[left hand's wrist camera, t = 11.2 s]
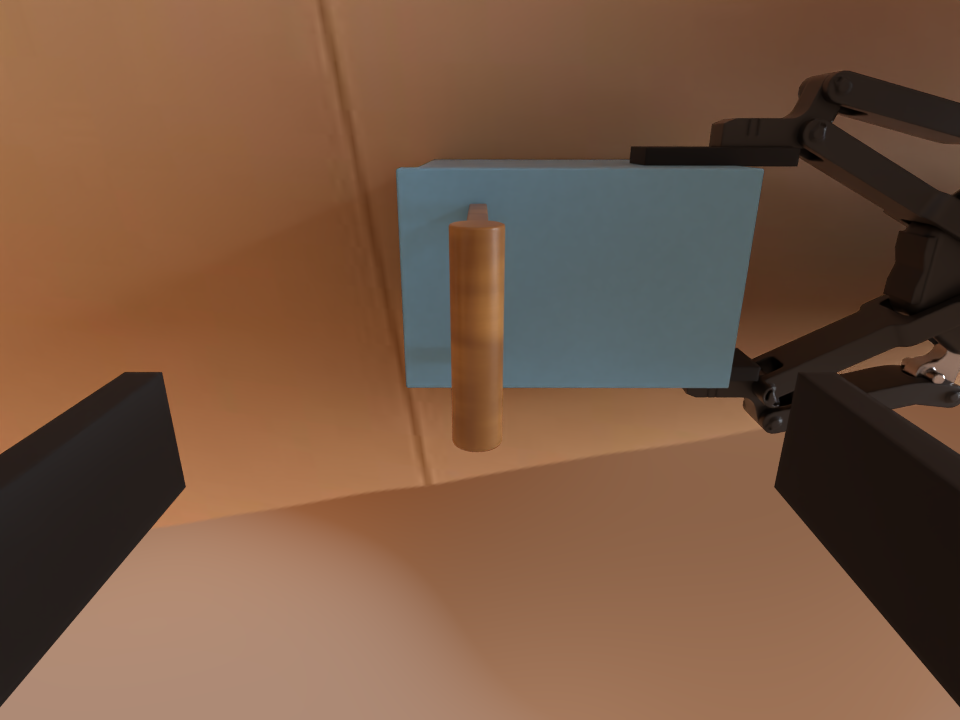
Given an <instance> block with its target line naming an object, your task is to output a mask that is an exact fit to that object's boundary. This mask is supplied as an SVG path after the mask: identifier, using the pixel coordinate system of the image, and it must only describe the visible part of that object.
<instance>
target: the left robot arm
mask: <svg viewBox="0 0 960 720" xmlns="http://www.w3.org/2000/svg"><path fill="white" fill-rule="evenodd" d="M185 487H186V486H185V481H184V476H183V471H182V467H181V462H180V457H179V452H178V447H177V443H176V438H175V433H174V428H173V423H172V418H171V414H170V409H169V404H168V399H167V394H166V389H165V385H164V380H163V375H162V372H124V373H123V374H121V375H120V376H118V377H117V378H115V379H114V380H112V381H111V382H109V383H108V384H106V385H105V386H103V387H102V388H100V389H99V390H97V391H96V392H94V393H93V394H91V395H90V396H88V397H87V398H85V399H84V400H82V401H81V402H79V403H78V404H76V405H74V406H73V407H71V408H70V409H68V410H67V411H65V412H64V413H62V414H61V415H59V416H58V417H56V418H55V419H53V420H52V421H50V422H49V423H47V424H46V425H44V426H43V427H41V428H40V429H38V430H37V431H35V432H34V433H32V434H31V435H29V436H28V437H26V438H24V439H23V440H21V441H20V442H18V443H17V444H15V445H14V446H12V447H11V448H9V449H8V450H6V451H5V452H3V453H2V454H0V707H1V705H2V704H3V703H4V702H5V701H6V700H7V698H8V697H9V696H10V695H11V694H12V692H13V691H14V690H15V689H16V688H17V687H18V685H19V684H20V683H21V682H22V681H23V679H24V678H25V677H26V676H27V675H28V673H29V672H30V671H31V670H32V669H33V668H34V666H35V665H36V664H37V663H38V662H39V660H40V659H41V658H42V657H43V656H44V654H45V653H46V652H47V651H48V650H49V649H50V647H51V646H52V645H53V644H54V643H55V641H56V640H57V639H58V638H59V637H60V635H61V634H62V633H63V632H64V631H65V630H66V628H67V627H68V626H69V625H70V624H71V622H72V621H73V620H74V619H75V618H76V616H77V615H78V614H79V613H80V612H81V611H82V609H83V608H84V607H85V606H86V605H87V603H88V602H89V601H90V600H91V599H92V597H93V596H94V595H95V594H96V593H97V592H98V590H99V589H100V588H101V587H102V586H103V584H104V583H105V582H106V581H107V580H108V579H109V577H110V576H111V575H112V574H113V573H114V571H115V570H116V569H117V568H118V567H119V566H120V564H121V563H122V562H123V561H124V560H125V558H126V557H127V556H128V555H129V554H130V552H131V551H132V550H133V549H134V548H135V547H136V545H137V544H138V543H139V542H140V541H141V539H142V538H143V537H144V536H145V535H146V533H147V532H148V531H149V530H150V529H151V528H152V526H153V525H154V524H155V523H156V522H157V520H158V519H159V518H160V517H161V516H162V514H163V513H164V512H165V511H166V510H167V509H168V507H169V506H170V505H171V504H172V503H173V501H174V500H175V499H176V498H177V497H178V496H179V494H180V493H181V492H182V491H183V490H184V488H185ZM774 487H775V488H776V490H777V491H778V492H779V493H780V494H781V496H782V497H783V498H784V499H785V500H786V501H787V503H788V504H789V505H790V506H791V507H792V509H793V510H794V511H795V512H796V513H797V514H798V516H799V517H800V518H801V519H802V520H803V522H804V523H805V524H806V525H807V526H808V528H809V529H810V530H811V531H812V532H813V533H814V535H815V536H816V537H817V538H818V539H819V541H820V542H821V543H822V544H823V545H824V547H825V548H826V549H827V550H828V551H829V552H830V554H831V555H832V556H833V557H834V558H835V560H836V561H837V562H838V563H839V564H840V566H841V567H842V568H843V569H844V570H845V571H846V573H847V574H848V575H849V576H850V577H851V579H852V580H853V581H854V582H855V583H856V584H857V586H858V587H859V588H860V589H861V590H862V592H863V593H864V594H865V595H866V596H867V598H868V599H869V600H870V601H871V602H872V603H873V605H874V606H875V607H876V608H877V609H878V611H879V612H880V613H881V614H882V615H883V617H884V618H885V619H886V620H887V621H888V622H889V624H890V625H891V626H892V627H893V628H894V630H895V631H896V632H897V633H898V634H899V635H900V637H901V638H902V639H903V640H904V641H905V643H906V644H907V645H908V646H909V647H910V649H911V650H912V651H913V652H914V653H915V654H916V656H917V657H918V658H919V659H920V660H921V662H922V663H923V664H924V665H925V666H926V667H927V669H928V670H929V671H930V672H931V673H932V675H933V676H934V677H935V678H936V679H937V681H938V682H939V683H940V684H941V685H942V686H943V688H944V689H945V690H946V691H947V692H948V694H949V695H950V696H951V697H952V698H953V700H954V701H955V702H956V703H957V704H958V705H959V707H960V454H958V453H957V452H955V451H954V450H952V449H951V448H949V447H948V446H946V445H945V444H943V443H942V442H940V441H939V440H937V439H936V438H934V437H932V436H931V435H929V434H928V433H926V432H925V431H923V430H922V429H920V428H919V427H917V426H916V425H914V424H913V423H911V422H910V421H908V420H907V419H905V418H904V417H902V416H901V415H899V414H898V413H896V412H895V411H893V410H892V409H890V408H889V407H887V406H886V405H884V404H882V403H881V402H879V401H878V400H876V399H875V398H873V397H872V396H870V395H869V394H867V393H866V392H864V391H863V390H861V389H860V388H858V387H857V386H855V385H854V384H852V383H851V382H849V381H848V380H846V379H845V378H843V377H842V376H840V375H839V374H837V373H836V372H798V375H797V380H796V385H795V389H794V394H793V399H792V404H791V409H790V414H789V418H788V423H787V428H786V433H785V438H784V443H783V447H782V452H781V457H780V462H779V467H778V472H777V476H776V481H775V486H774Z"/></svg>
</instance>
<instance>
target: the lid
mask: <svg viewBox="0 0 960 720" xmlns="http://www.w3.org/2000/svg"><path fill="white" fill-rule="evenodd" d="M763 175H764V169H762V168H719V167H400V168H398V169H396V182H397V203H398V224H399V245H400V266H401V287H402V308H403V329H404V350H405V371H406V386H407V387H408V388H452V439H453V442H454V444H455V445H456V446H457V447H458V448H460V449H462V450H465V451H470V452H484V451H489V450H492V449H494V448H496V447H498V446H499V445H500V443H501V441H502V406H503V388H728V387H729V381H730V375H731V369H732V363H733V357H734V351H735V345H736V339H737V333H738V327H739V321H740V315H741V308H742V302H743V296H744V290H745V284H746V278H747V272H748V266H749V260H750V254H751V248H752V242H753V235H754V229H755V223H756V217H757V211H758V205H759V199H760V193H761V187H762V181H763Z"/></svg>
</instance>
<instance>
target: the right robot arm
mask: <svg viewBox="0 0 960 720" xmlns="http://www.w3.org/2000/svg"><path fill="white" fill-rule="evenodd" d="M798 96H799V100H798V101H797V103H796V105H795V107H794V109H793V110H792V112H791V113H790V114H789V115H787V116H786V117H784V118H734V119H723V120H721V121H718V122H716V123H713V124H712V128H711V135H710V143H709V147H667V146H631V152H630V163H632V164H638V165H644V166H797V165H798V160H799V158H801V159H802V160H804V161H806V162H807V163H809V164H811V165H812V166H814V167H815V168H817V169H819V170H820V171H822V172H824V173H825V174H827V175H828V176H830V177H832V178H833V179H835V180H837V181H838V182H840V183H841V184H843V185H845V186H846V187H848V188H850V189H851V190H853V191H855V192H856V193H858V194H859V195H861V196H863V197H864V198H866V199H868V200H869V201H871V202H872V203H874V204H876V205H877V206H879V207H881V208H882V209H883V210H884V213H886V214H887V215H889V216H891V217H892V218H894V219H895V220H897V221H899V222H900V223H902V224H904V225H905V226H907V228H906V230H905V231H899V234H898V238H897V242H896V246H895V260H896V262H895V265H894V267H893V269H892V271H891V272H890V274H889V276H888V278H887V282H886V286H885V290H884V294H885V295H883V296H880V297H878V298H876V299H874V300H872V301H869V302H867V303H865V304H863V305H862V306H861V307H860V310H859V311H858V312H857V313H854V314H852V315H850V316H848V317H845V318H843V319H841V320H839V321H836V322H834V323H832V324H830V325H827V326H825V327H823V328H821V329H819V330H816V331H814V332H812V333H810V334H807V335H805V336H803V337H801V338H798V339H796V340H794V341H792V342H789V343H787V344H785V345H783V346H780V347H778V348H776V349H774V350H772V351H769V352H767V353H765V354H763V355H760V356H758V357H756V358H754V359H750V358H749V357H748V356H747V355H745V354H744V353H743V352H742V351H740V350H739V349H738V348H735V351H734V357H733V363H732V369H731V375H730V381H729V387H728V388H682V389H683V390H684V391H685V392H686V394H689V395H691V396H694V397H744V401H743V407H744V409H745V410H746V411H747V412H748V413H749V415H750V416H751V417H752V418H753V419H754V420H755V421H756V422H757V423H758V424H759V425H760V426H761V427H762V428H763V429H764V430H765V431H766V432H768V433H771V434H773V433H780V432H785V431H786V428H787V423H788V418H789V414H790V409H791V404H792V399H793V394H794V389H795V385H796V380H797V375H798V372H839V371H841V370H843V369H846V368H848V367H850V366H853V365H855V364H857V363H860V362H862V361H864V360H867V359H869V358H871V357H873V356H876V355H878V354H880V353H883V352H885V351H887V350H890V349H892V348H895V347H909V346H913V345H917V344H919V343H921V342H923V341H926V340H929V341H930V342H931V343H933V344H934V347H933V349H932V350H931V351H930V352H929V353H928V354H926V355H924V356H919V357H914V358H910V357H907V358H904V359H903V360H902V362H901V365H884V366H878V367H873V368H868V369H863V370H858V371H854V372H849V373H844V374H840V376H842V377H843V378H845V379H846V380H848V381H849V382H851V383H852V384H854V385H855V386H857V387H858V388H860V389H861V390H863V391H864V392H866V393H867V394H869V395H870V396H872V397H873V398H875V399H876V400H878V401H879V402H881V403H882V404H884V405H886V406H887V407H889V408H890V409H896V408H901V407H905V406H910V405H915V404H917V405H927V406H936V407H946V408H951V407H955V406H957V405H959V404H960V386H959V385H957V384H955V383H954V382H955V379H956V377H957V375H958V372H959V370H960V190H958V191H957V192H955V193H954V194H952V195H949V194H947V193H943V192H941V191H938V190H936V189H935V188H933V187H932V186H930V185H928V184H927V183H925V182H924V181H922V180H921V179H919V178H917V177H916V176H914V175H913V174H911V173H910V172H908V171H906V170H905V169H903V168H902V167H900V166H898V165H897V164H895V163H894V162H892V161H891V160H889V159H887V158H886V157H884V156H883V155H881V154H879V153H878V152H876V151H875V150H873V149H872V148H870V147H868V146H867V145H865V144H864V143H862V142H861V141H859V140H857V139H856V138H854V137H853V136H851V135H849V134H848V133H846V132H845V131H843V130H842V129H840V128H838V127H837V126H835V125H834V124H832V122H833V121H834V119H835V117H836V115H837V114H839V115H842V116H846V117H849V118H853V119H856V120H860V121H863V122H867V123H870V124H874V125H878V126H881V127H885V128H888V129H892V130H895V131H899V132H902V133H906V134H909V135H913V136H916V137H920V138H924V139H927V140H931V141H934V142H939V143H945V144H960V103H958V102H955V101H951V100H948V99H945V98H941V97H938V96H934V95H931V94H927V93H924V92H920V91H917V90H913V89H910V88H907V87H903V86H900V85H896V84H893V83H889V82H886V81H882V80H879V79H876V78H872V77H869V76H865V75H862V74H858V73H855V72H851V71H839V72H834V73H828V74H823V75H818V76H812V77H810V78H807V79H806V80H805V81H804V82H802V84H801V86H800V87H799V92H798Z"/></svg>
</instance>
